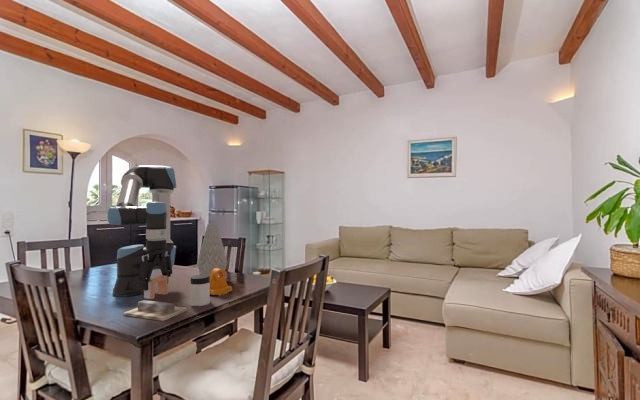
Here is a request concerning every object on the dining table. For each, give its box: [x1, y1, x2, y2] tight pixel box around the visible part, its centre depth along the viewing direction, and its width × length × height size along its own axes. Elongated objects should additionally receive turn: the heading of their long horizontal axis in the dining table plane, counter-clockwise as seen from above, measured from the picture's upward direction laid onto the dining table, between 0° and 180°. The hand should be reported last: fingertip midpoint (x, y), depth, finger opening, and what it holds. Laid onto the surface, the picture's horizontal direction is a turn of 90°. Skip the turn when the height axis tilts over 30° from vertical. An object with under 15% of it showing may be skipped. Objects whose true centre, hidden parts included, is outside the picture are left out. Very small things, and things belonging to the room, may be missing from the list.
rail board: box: [123, 299, 188, 322], centre depth 135 cm, size 20×13×4 cm, turn 72°
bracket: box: [210, 268, 233, 296], centre depth 164 cm, size 11×7×12 cm, turn 136°
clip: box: [149, 274, 169, 300], centre depth 135 cm, size 4×8×8 cm, turn 162°
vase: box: [196, 223, 228, 276], centre depth 188 cm, size 17×17×33 cm
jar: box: [190, 274, 211, 307], centre depth 148 cm, size 9×8×12 cm
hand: (156, 295), depth 135 cm, fingers closed on clip, 8 cm apart
